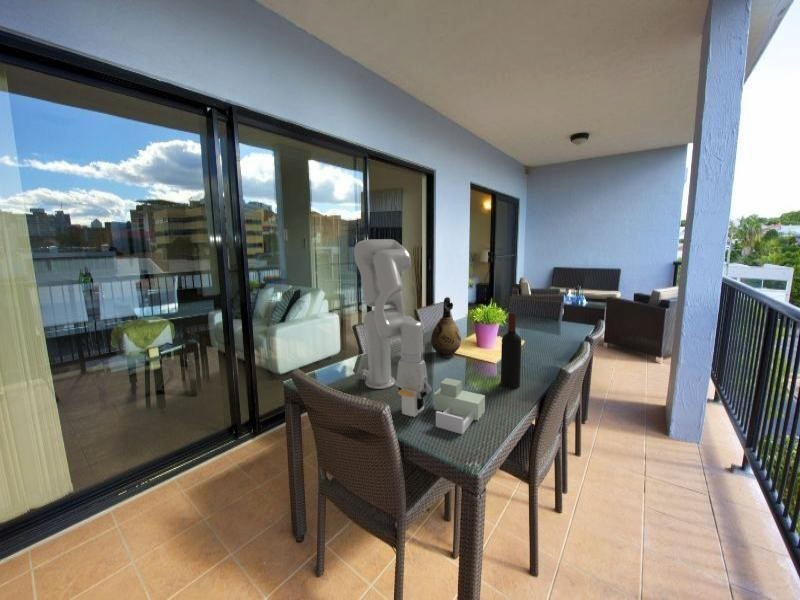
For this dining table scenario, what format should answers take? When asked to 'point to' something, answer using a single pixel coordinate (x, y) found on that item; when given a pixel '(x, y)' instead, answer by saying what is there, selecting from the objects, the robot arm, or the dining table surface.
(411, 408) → the orange-topped white box
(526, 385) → the dining table surface
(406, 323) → the robot arm
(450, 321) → the ceramic jug
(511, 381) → the wine bottle
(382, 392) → the dining table surface
